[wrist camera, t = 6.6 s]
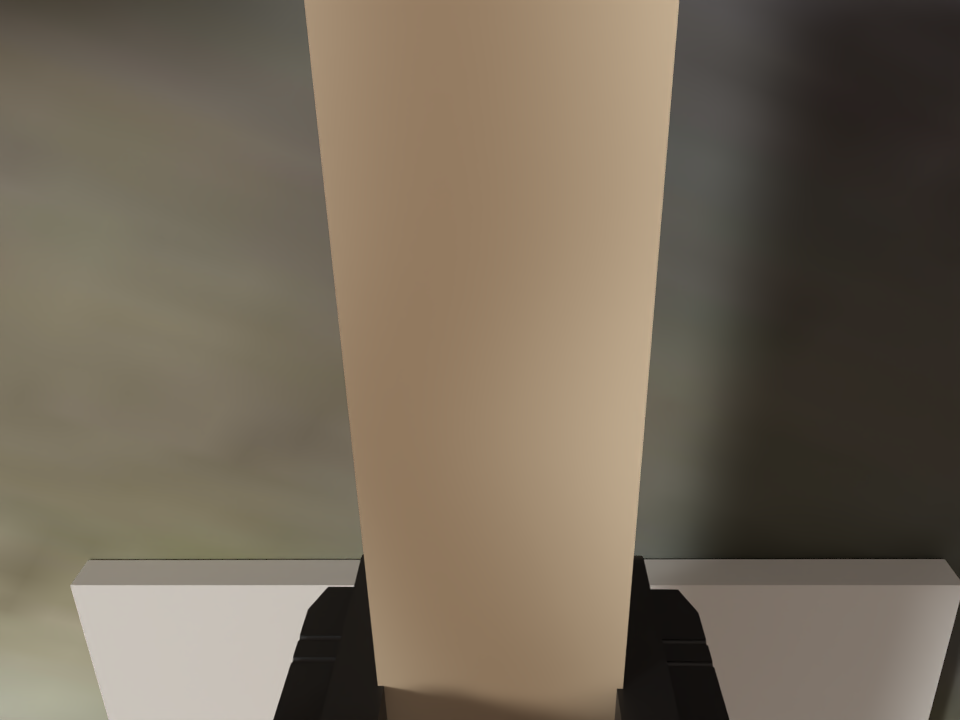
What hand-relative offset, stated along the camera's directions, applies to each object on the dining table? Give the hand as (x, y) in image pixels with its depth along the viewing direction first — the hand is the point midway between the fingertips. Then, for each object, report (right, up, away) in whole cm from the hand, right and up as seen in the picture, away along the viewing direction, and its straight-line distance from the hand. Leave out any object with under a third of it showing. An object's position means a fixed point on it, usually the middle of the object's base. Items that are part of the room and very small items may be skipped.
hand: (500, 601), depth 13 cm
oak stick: (0, +1, +1) cm, 1 cm away
